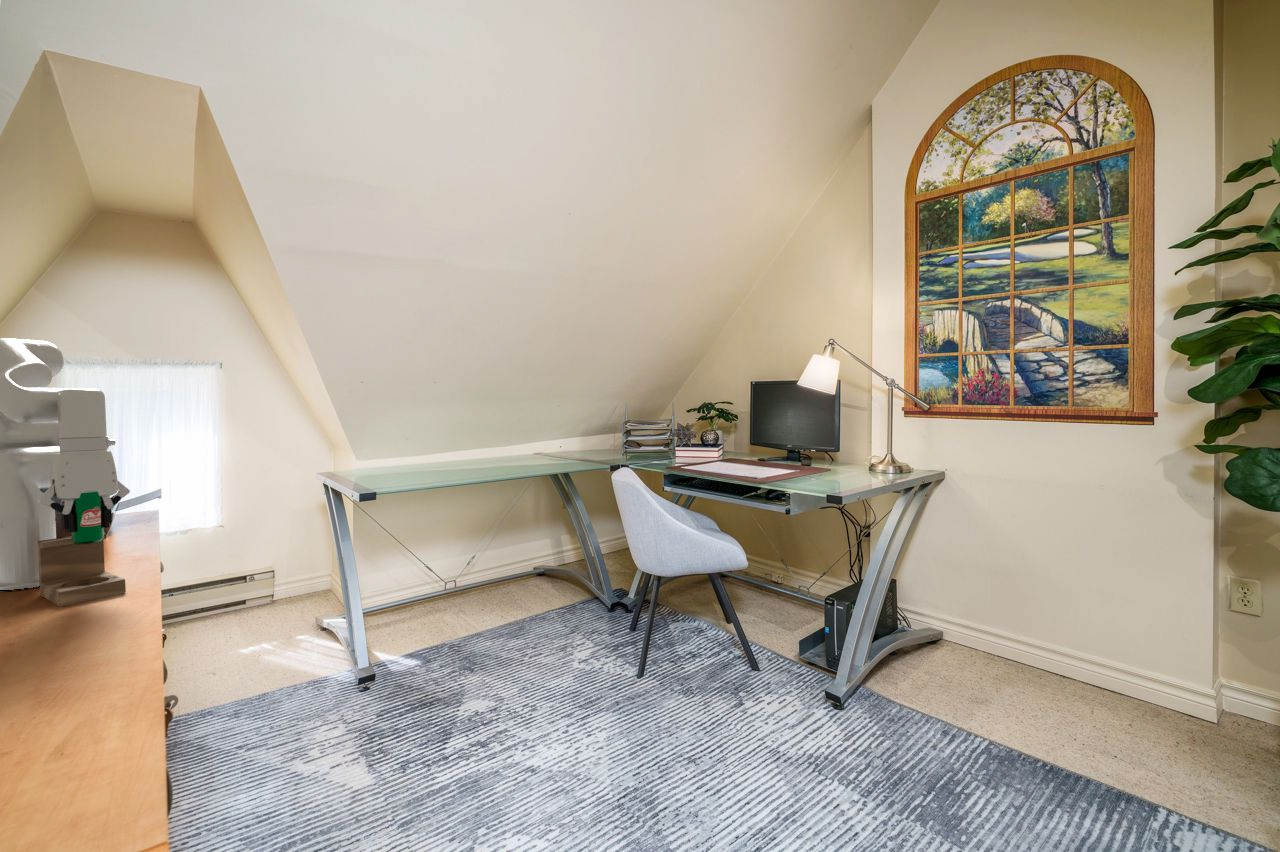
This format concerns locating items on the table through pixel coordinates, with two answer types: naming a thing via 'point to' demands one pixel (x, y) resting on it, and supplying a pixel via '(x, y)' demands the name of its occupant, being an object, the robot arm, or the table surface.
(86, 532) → the soda can
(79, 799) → the table surface
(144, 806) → the table surface
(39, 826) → the table surface
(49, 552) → the socket block
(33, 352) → the robot arm
